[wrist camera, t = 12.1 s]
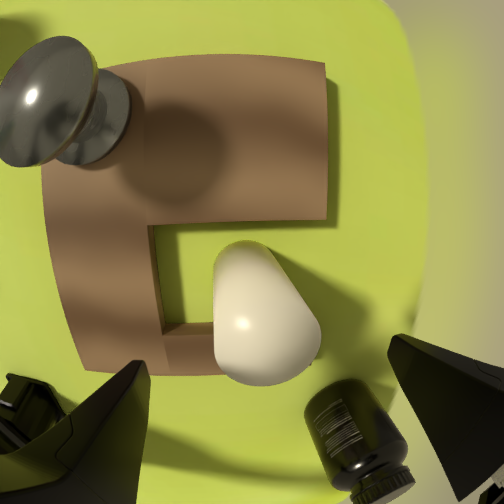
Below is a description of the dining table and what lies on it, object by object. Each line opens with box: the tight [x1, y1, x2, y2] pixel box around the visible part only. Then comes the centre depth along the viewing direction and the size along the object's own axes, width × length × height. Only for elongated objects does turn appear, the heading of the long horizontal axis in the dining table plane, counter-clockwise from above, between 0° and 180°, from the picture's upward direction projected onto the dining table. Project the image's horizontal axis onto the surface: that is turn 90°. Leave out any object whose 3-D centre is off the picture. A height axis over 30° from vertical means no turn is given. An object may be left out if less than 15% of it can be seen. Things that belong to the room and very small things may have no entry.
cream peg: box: [213, 240, 321, 386], centre depth 13 cm, size 4×4×8 cm
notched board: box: [41, 54, 328, 376], centre depth 15 cm, size 20×17×2 cm
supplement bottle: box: [304, 379, 416, 504], centre depth 17 cm, size 7×7×12 cm
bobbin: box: [0, 36, 132, 167], centre depth 9 cm, size 6×6×6 cm
